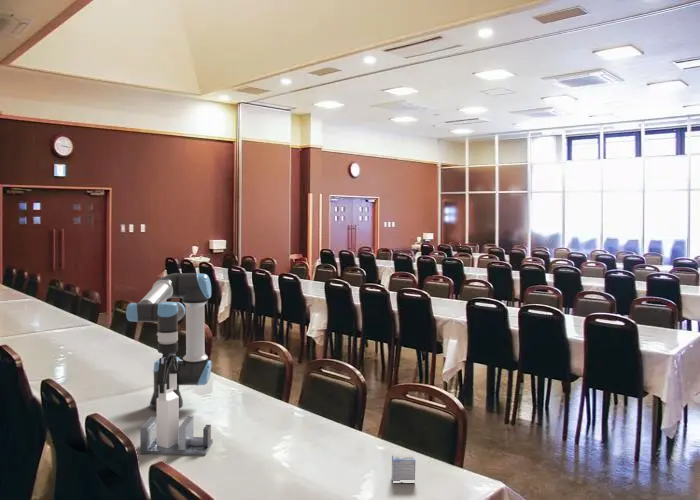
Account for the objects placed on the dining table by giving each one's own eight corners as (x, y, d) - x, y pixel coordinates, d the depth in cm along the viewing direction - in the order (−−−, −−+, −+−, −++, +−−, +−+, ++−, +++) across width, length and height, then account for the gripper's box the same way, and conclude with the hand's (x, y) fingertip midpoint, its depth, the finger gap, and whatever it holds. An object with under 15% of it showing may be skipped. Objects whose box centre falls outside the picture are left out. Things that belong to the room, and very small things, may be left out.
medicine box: (413, 478, 203) (413, 454, 203) (415, 484, 199) (415, 459, 198) (391, 478, 203) (391, 454, 203) (392, 484, 199) (393, 459, 198)
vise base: (150, 442, 231) (150, 416, 231) (212, 442, 232) (212, 417, 231) (140, 454, 219) (140, 427, 219) (205, 455, 220) (205, 428, 219)
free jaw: (185, 438, 231) (185, 416, 231) (212, 438, 232) (212, 416, 231) (177, 450, 219) (177, 427, 219) (205, 450, 220) (205, 427, 219)
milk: (156, 445, 224) (155, 390, 223) (167, 440, 230) (167, 386, 228) (168, 448, 221) (167, 392, 220) (179, 443, 227) (178, 388, 226)
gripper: (167, 334, 235) (167, 385, 237) (147, 349, 211) (147, 405, 212) (186, 335, 236) (186, 385, 237) (167, 349, 211) (167, 406, 212)
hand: (167, 395), depth 225 cm, fingers open, 13 cm apart
